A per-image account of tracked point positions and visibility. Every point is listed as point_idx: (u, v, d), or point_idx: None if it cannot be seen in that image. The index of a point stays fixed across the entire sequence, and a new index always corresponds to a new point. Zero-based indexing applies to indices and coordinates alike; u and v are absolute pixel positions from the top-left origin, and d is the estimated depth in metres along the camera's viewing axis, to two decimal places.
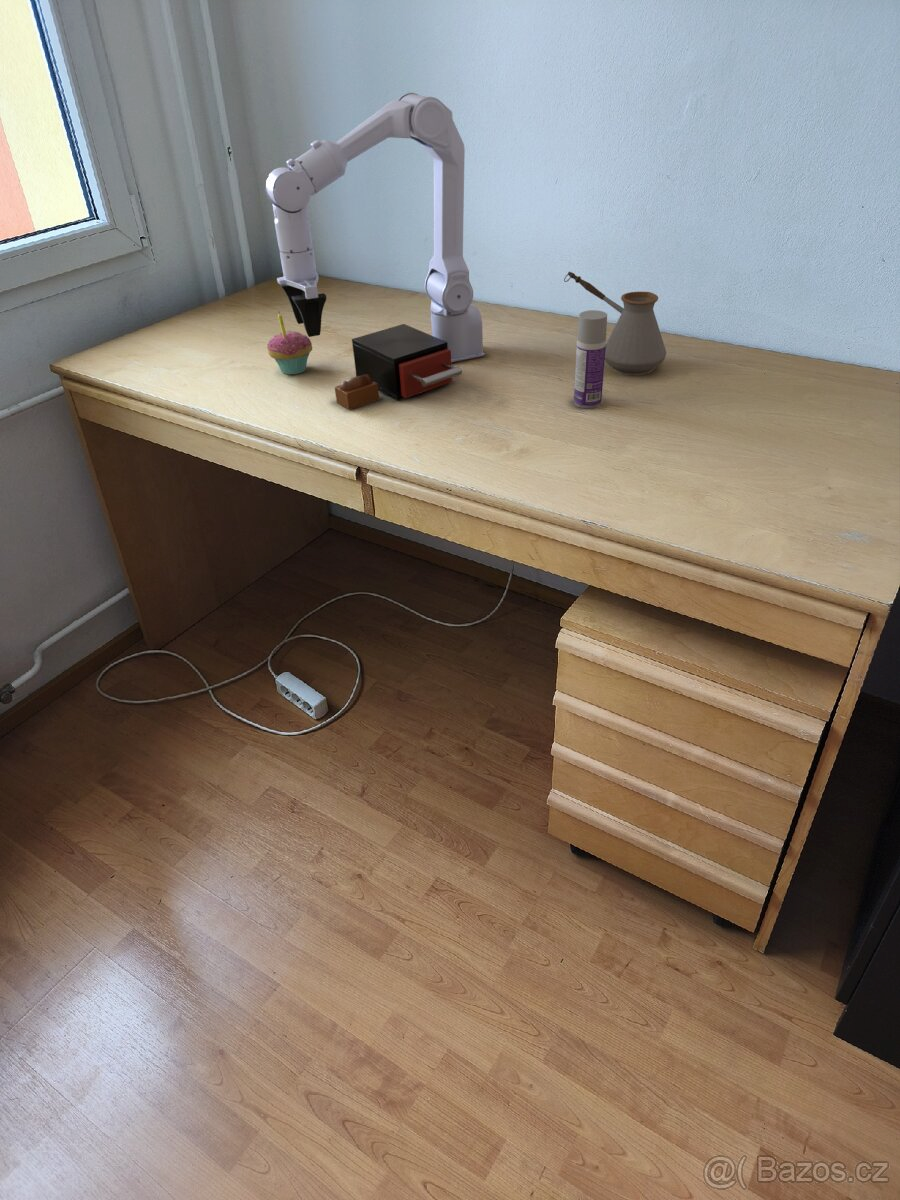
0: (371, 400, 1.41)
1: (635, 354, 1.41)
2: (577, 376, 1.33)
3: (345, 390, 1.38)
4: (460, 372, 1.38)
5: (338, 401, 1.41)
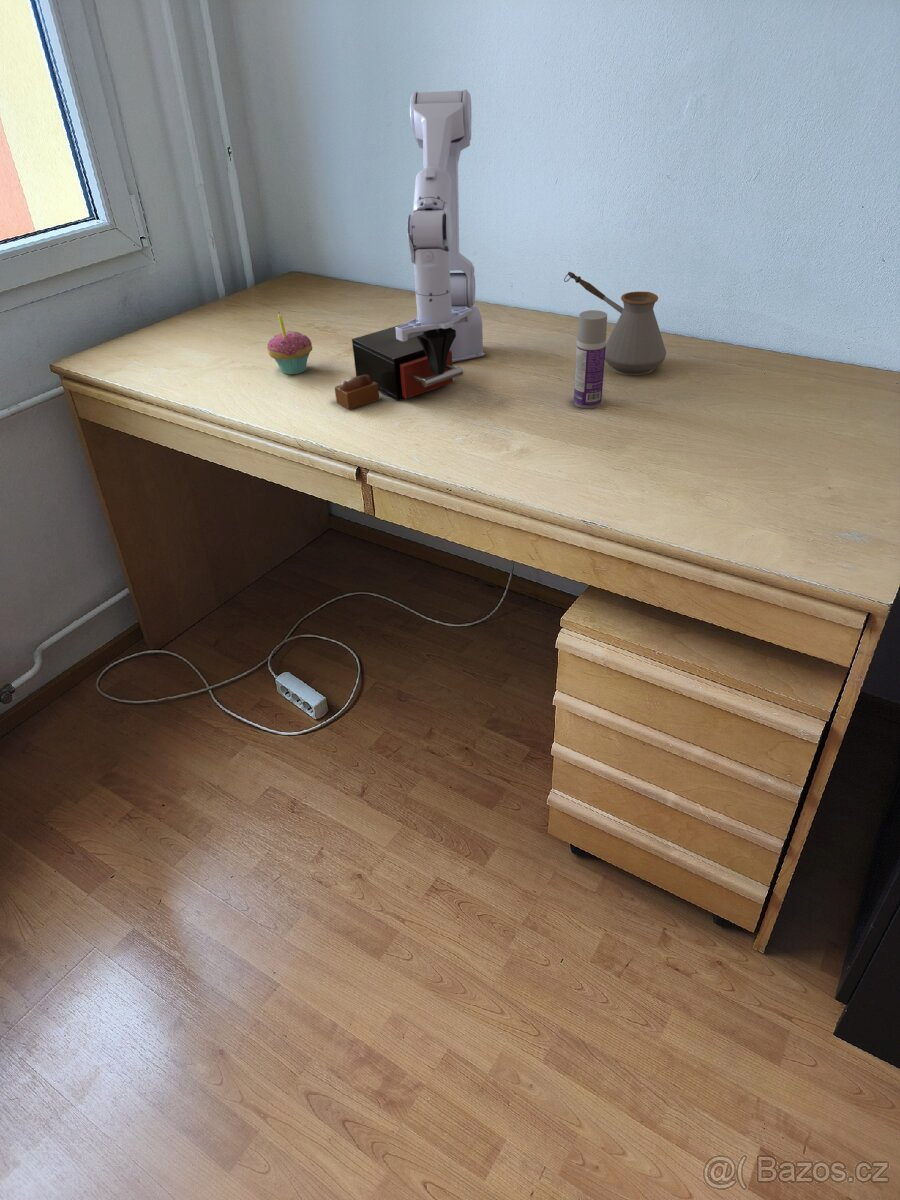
0: (371, 400, 1.41)
1: (635, 354, 1.41)
2: (577, 376, 1.33)
3: (345, 390, 1.38)
4: (461, 372, 1.38)
5: (338, 401, 1.41)
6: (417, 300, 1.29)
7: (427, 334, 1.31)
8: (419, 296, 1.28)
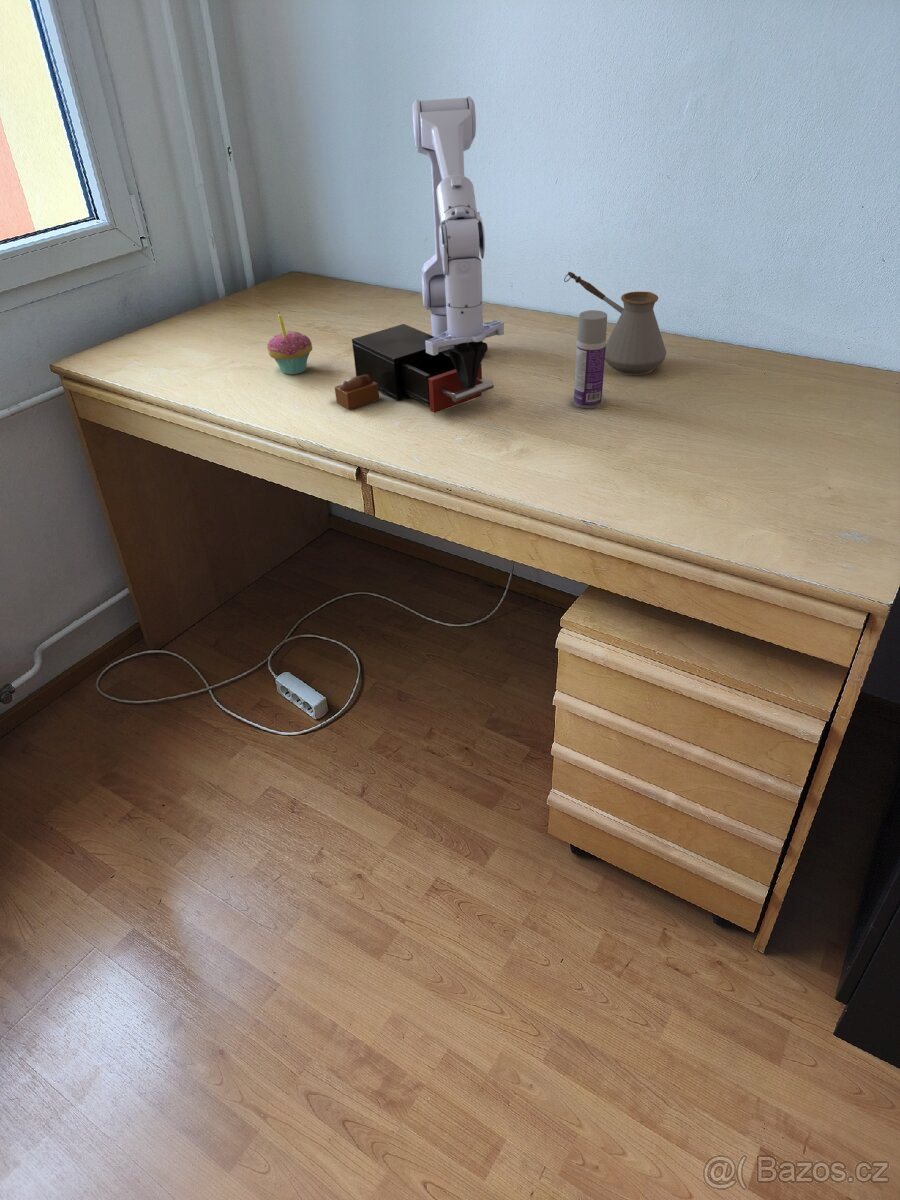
0: (371, 400, 1.41)
1: (635, 354, 1.41)
2: (577, 376, 1.33)
3: (345, 390, 1.38)
4: (492, 386, 1.33)
5: (338, 401, 1.41)
6: (448, 313, 1.24)
7: (458, 348, 1.26)
8: (450, 308, 1.23)
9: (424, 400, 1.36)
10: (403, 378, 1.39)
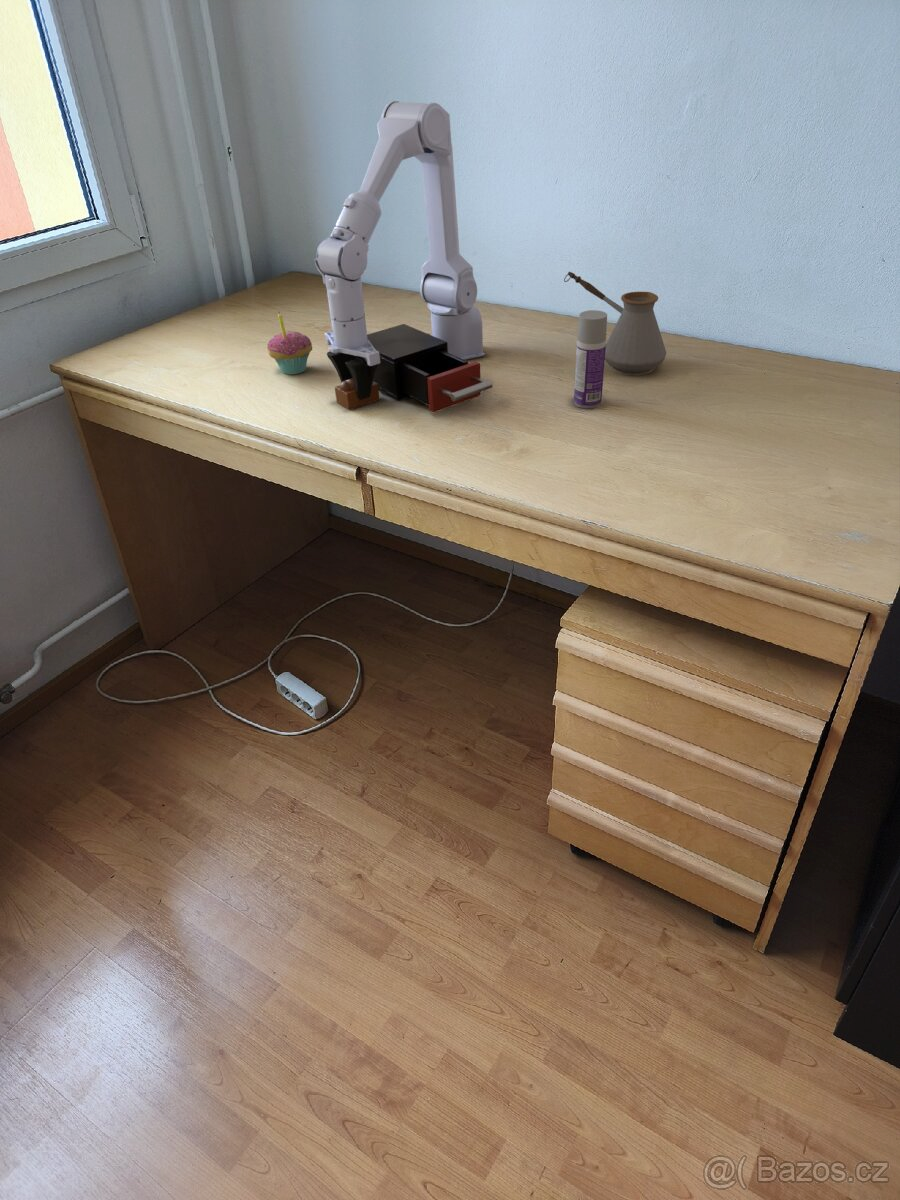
0: (371, 400, 1.41)
1: (635, 354, 1.41)
2: (577, 376, 1.33)
3: (345, 390, 1.38)
4: (490, 386, 1.33)
5: (338, 401, 1.41)
6: None
7: None
8: None
9: (423, 400, 1.36)
10: (402, 378, 1.39)
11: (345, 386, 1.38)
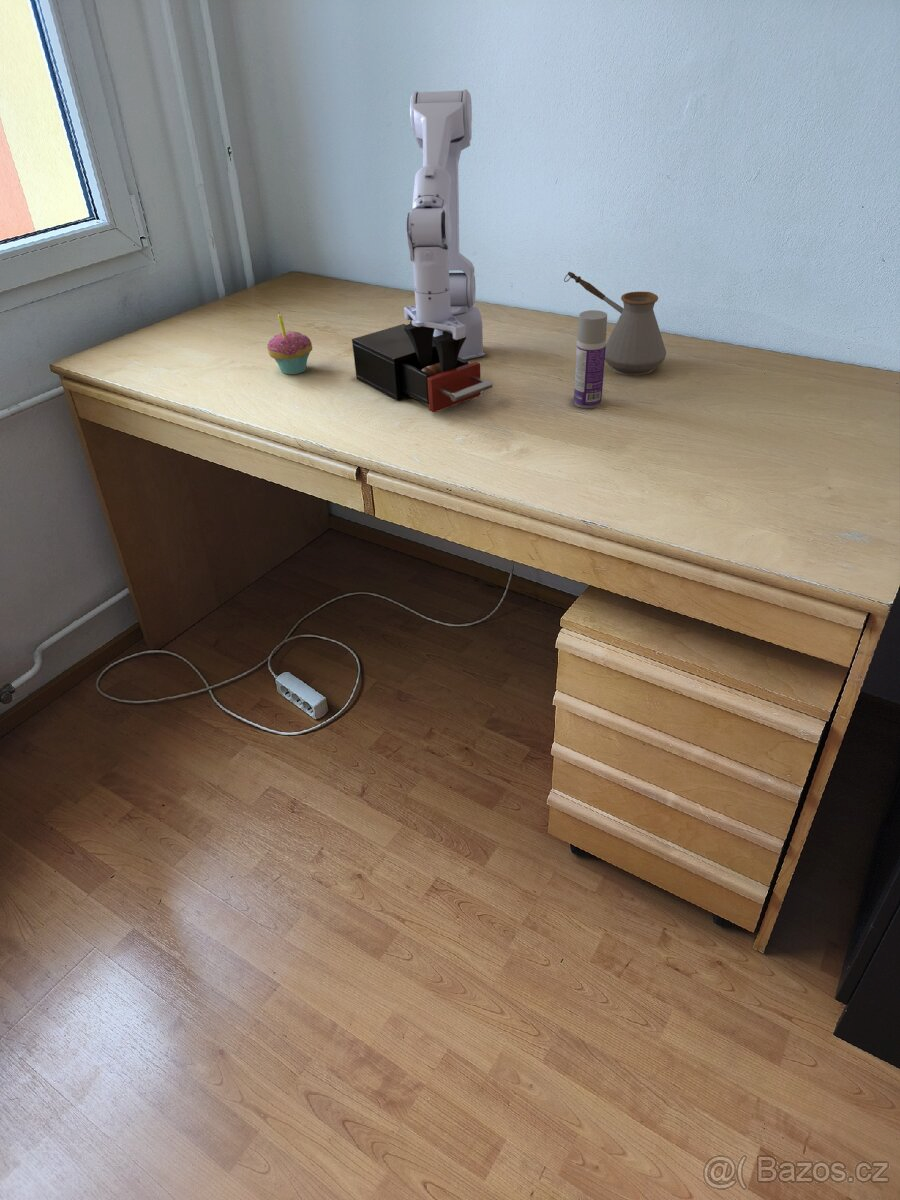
0: None
1: (635, 354, 1.41)
2: (577, 376, 1.33)
3: None
4: (490, 386, 1.33)
5: None
6: None
7: (411, 321, 1.36)
8: None
9: (423, 400, 1.36)
10: (402, 378, 1.39)
11: (426, 372, 1.36)
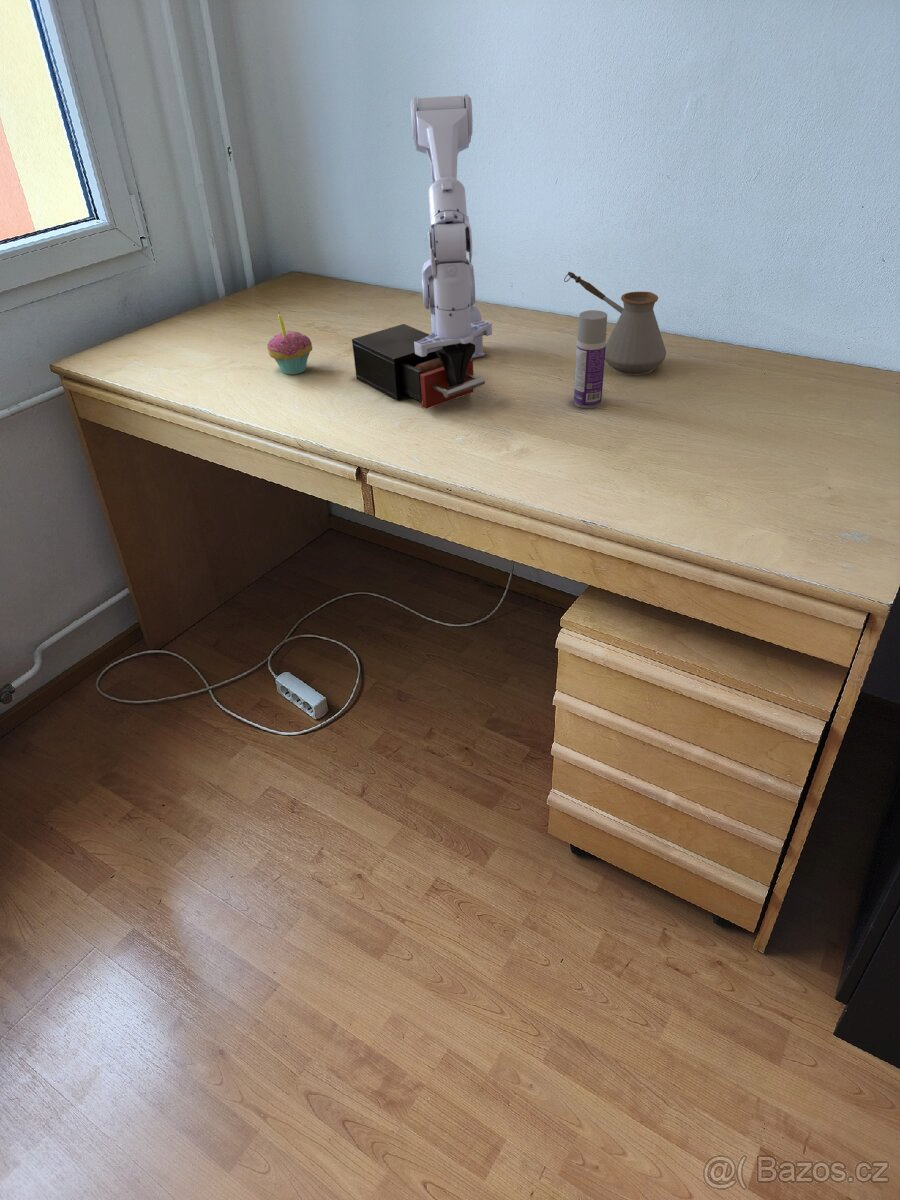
0: None
1: (635, 354, 1.41)
2: (577, 376, 1.33)
3: None
4: (483, 382, 1.34)
5: None
6: (436, 314, 1.26)
7: (446, 349, 1.29)
8: (439, 310, 1.25)
9: (416, 396, 1.38)
10: None
11: (419, 369, 1.37)
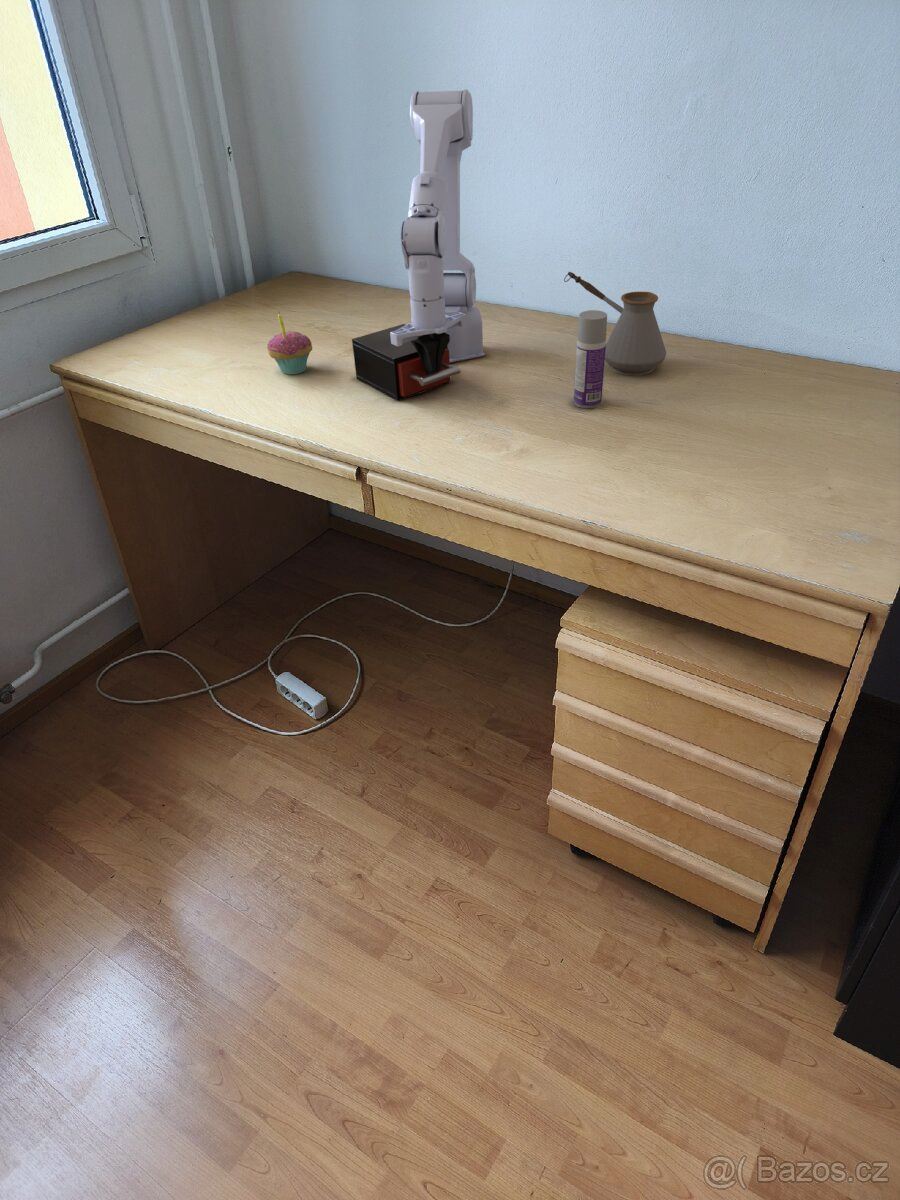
0: None
1: (635, 354, 1.41)
2: (577, 376, 1.33)
3: None
4: (458, 371, 1.39)
5: None
6: (411, 305, 1.31)
7: (421, 339, 1.33)
8: (413, 301, 1.30)
9: None
10: None
11: None
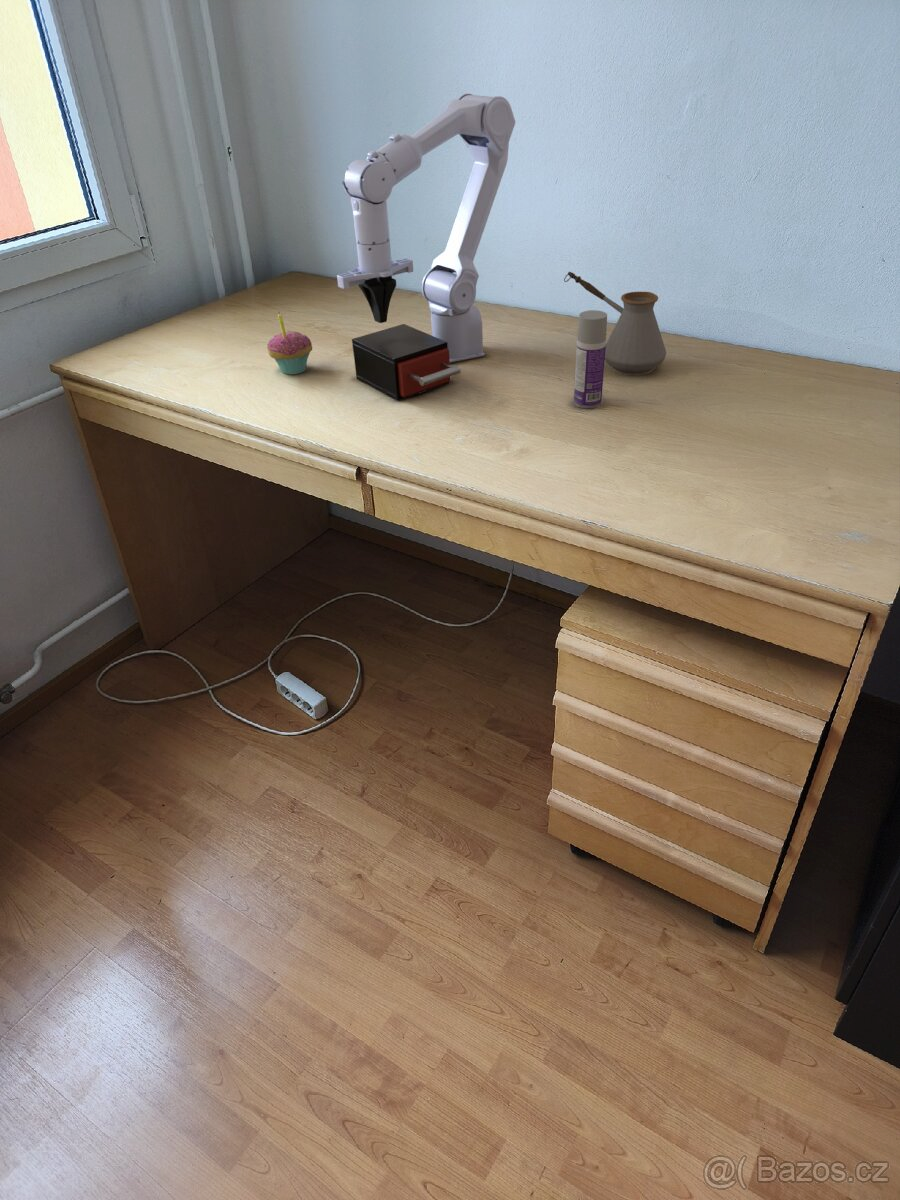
0: None
1: (635, 354, 1.41)
2: (577, 376, 1.33)
3: None
4: (458, 371, 1.39)
5: None
6: (357, 249, 1.35)
7: (368, 283, 1.37)
8: (359, 245, 1.34)
9: None
10: None
11: None
